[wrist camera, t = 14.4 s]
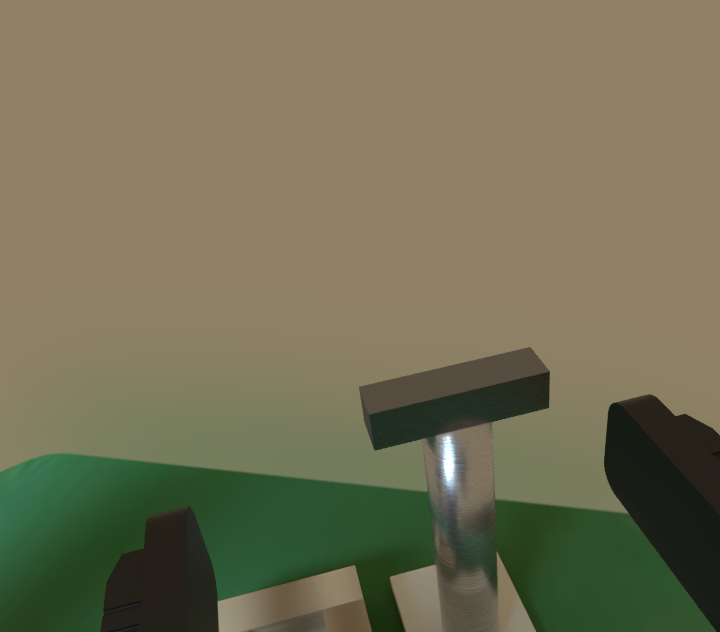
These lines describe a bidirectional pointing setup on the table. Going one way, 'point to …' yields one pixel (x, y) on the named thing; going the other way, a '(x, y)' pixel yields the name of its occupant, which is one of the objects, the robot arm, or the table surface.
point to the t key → (459, 465)
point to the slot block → (300, 606)
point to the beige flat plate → (423, 607)
